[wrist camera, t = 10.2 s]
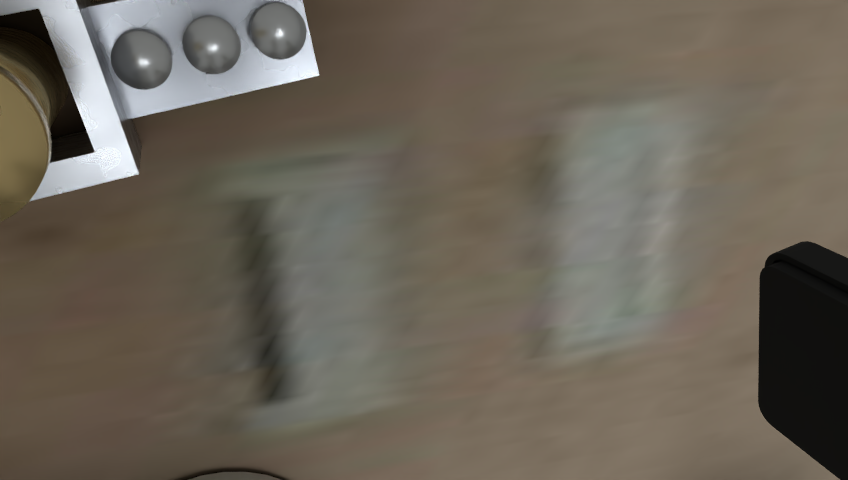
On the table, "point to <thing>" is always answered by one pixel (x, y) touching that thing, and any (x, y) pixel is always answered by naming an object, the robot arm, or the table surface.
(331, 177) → the table surface
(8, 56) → the pin
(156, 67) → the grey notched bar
